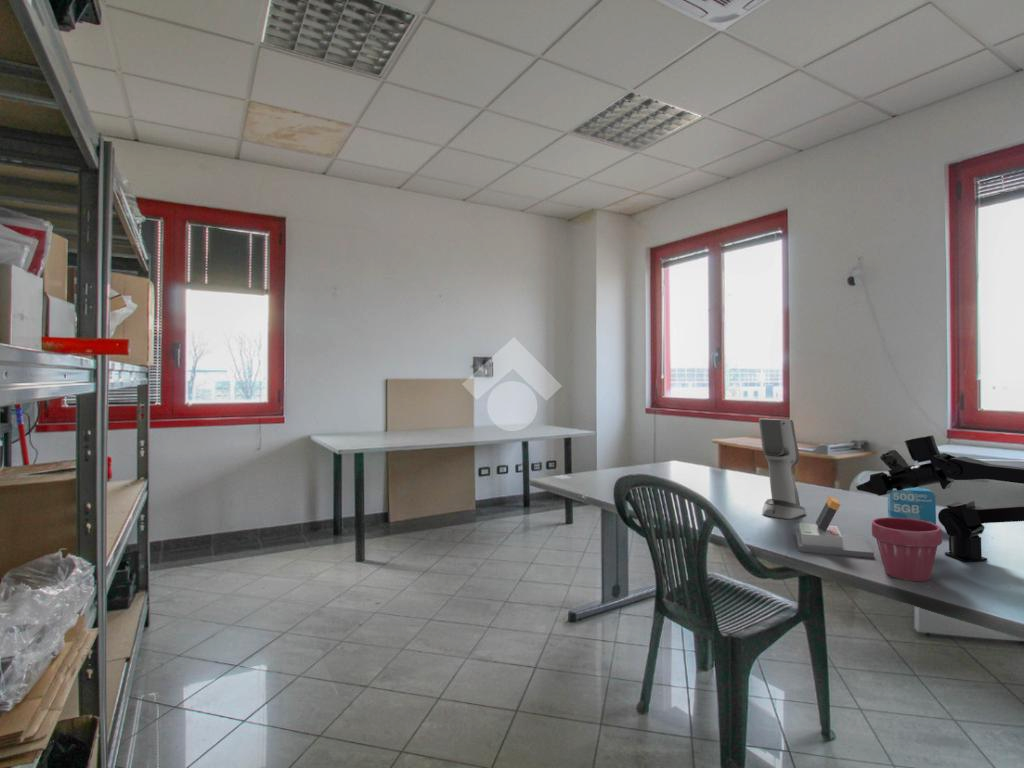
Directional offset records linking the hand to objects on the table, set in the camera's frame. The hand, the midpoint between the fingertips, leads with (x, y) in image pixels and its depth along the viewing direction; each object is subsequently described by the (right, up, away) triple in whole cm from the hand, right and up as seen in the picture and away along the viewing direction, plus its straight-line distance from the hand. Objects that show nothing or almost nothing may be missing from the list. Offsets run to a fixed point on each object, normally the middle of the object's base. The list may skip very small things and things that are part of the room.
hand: (864, 486), depth 165 cm
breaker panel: (-15, -16, -8) cm, 23 cm away
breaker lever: (-18, -11, -7) cm, 22 cm away
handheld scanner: (-11, -16, +29) cm, 34 cm away
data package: (+21, -15, +9) cm, 28 cm away
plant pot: (-10, -16, -32) cm, 37 cm away
